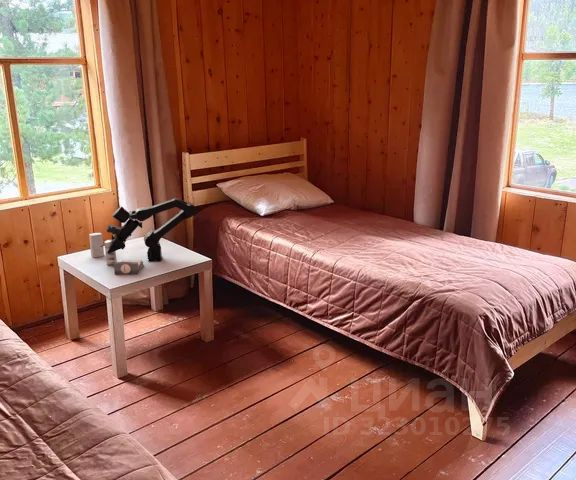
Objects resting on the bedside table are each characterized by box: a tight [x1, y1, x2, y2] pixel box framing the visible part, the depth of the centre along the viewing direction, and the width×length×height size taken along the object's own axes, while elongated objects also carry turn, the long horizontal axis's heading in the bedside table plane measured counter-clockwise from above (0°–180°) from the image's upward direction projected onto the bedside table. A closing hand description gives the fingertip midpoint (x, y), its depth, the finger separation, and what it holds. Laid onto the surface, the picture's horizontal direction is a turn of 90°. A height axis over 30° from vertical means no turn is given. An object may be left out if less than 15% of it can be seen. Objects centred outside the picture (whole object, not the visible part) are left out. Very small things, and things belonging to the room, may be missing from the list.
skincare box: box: [88, 232, 105, 258], centre depth 295 cm, size 6×4×12 cm
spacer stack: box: [103, 239, 118, 266], centre depth 282 cm, size 5×5×12 cm
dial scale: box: [113, 259, 144, 276], centre depth 274 cm, size 11×14×6 cm
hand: (107, 251), depth 281 cm, fingers closed on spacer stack, 5 cm apart
